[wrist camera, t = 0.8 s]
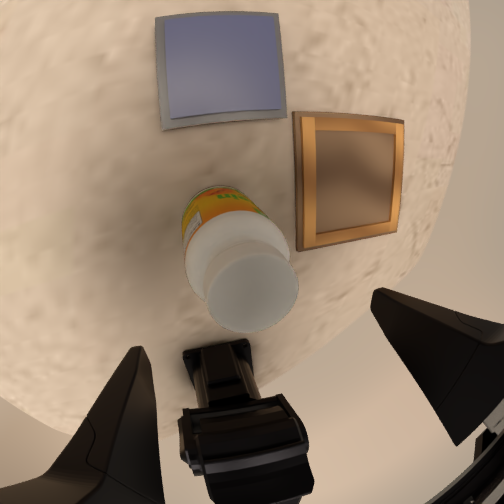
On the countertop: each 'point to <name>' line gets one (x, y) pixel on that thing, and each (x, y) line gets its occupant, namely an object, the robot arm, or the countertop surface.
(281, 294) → the supplement bottle
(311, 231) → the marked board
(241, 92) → the ink pad
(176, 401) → the countertop surface
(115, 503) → the robot arm
